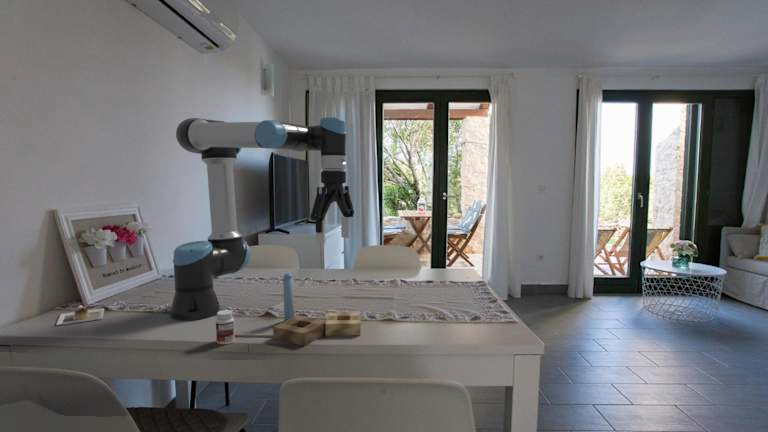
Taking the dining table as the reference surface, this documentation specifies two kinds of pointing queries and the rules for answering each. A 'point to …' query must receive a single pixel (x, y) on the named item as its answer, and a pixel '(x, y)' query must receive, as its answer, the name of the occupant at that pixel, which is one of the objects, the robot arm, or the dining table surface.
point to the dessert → (80, 315)
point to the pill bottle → (225, 327)
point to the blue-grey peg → (288, 297)
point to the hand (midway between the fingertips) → (333, 240)
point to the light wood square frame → (343, 324)
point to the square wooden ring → (299, 330)
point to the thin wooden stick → (254, 335)
